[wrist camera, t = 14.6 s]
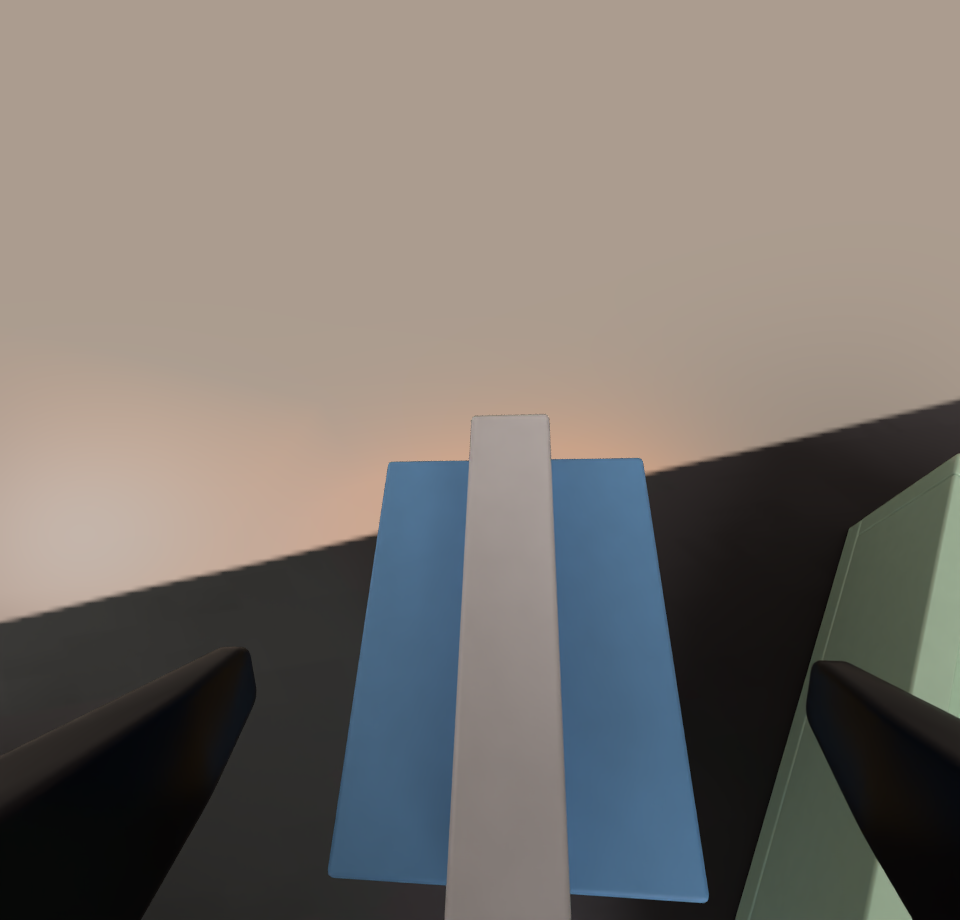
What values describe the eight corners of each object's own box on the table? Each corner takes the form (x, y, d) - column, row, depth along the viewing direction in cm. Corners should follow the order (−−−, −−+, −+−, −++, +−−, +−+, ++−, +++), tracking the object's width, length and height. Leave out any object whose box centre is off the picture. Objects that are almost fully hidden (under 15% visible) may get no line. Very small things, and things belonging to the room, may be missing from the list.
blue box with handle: (599, 811, 13) (762, 964, 4) (450, 804, 14) (275, 925, 4) (584, 607, 16) (660, 409, 7) (461, 605, 17) (368, 416, 7)
